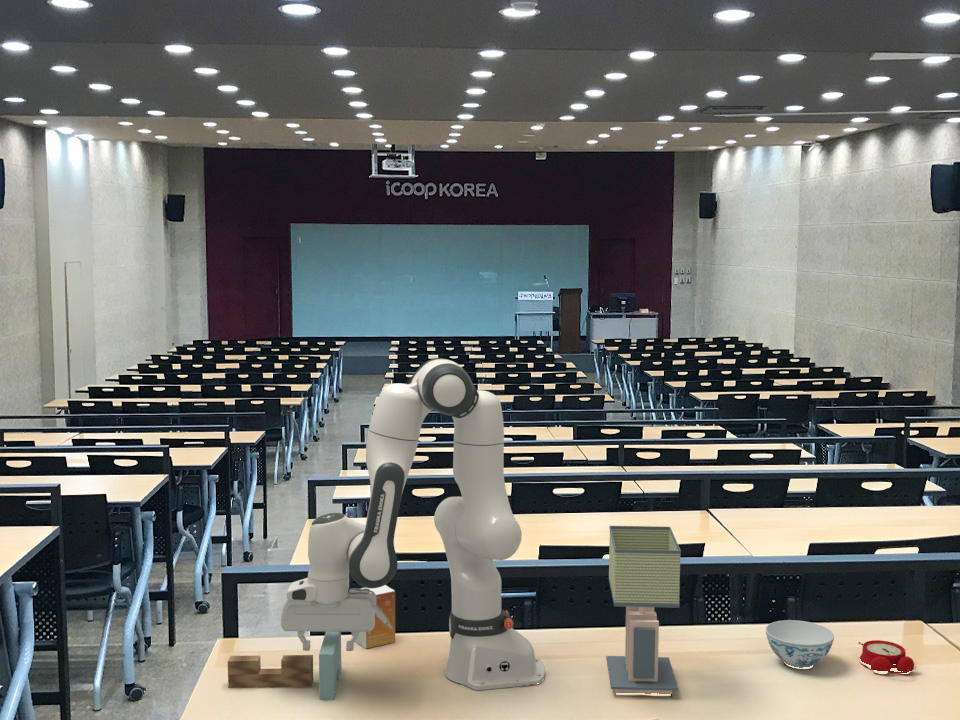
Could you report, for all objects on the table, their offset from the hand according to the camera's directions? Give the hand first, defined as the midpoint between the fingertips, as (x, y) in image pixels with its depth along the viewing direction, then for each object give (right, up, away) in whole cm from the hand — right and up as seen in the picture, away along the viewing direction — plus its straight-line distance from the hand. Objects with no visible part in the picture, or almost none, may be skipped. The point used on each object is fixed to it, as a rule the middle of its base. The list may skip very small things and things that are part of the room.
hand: (328, 649), depth 230 cm
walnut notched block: (-13, -8, +1) cm, 15 cm away
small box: (+8, -5, +25) cm, 27 cm away
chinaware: (+106, -7, +12) cm, 107 cm away
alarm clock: (+126, -7, +11) cm, 126 cm away
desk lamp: (+68, -8, +2) cm, 69 cm away
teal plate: (0, -8, +1) cm, 8 cm away
